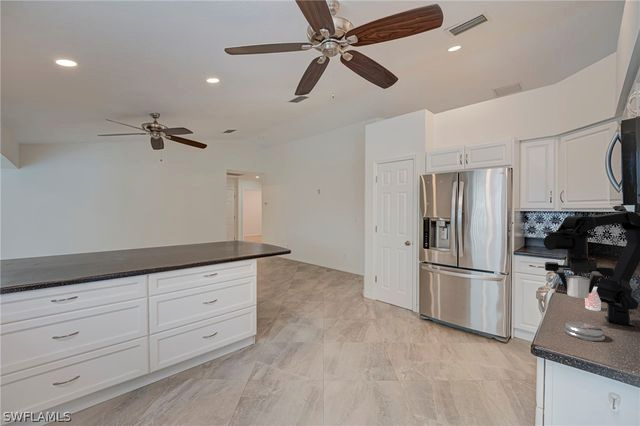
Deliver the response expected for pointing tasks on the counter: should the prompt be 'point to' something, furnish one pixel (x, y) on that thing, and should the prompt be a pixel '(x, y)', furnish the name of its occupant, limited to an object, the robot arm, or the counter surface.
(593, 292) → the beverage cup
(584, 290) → the white cup
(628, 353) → the counter surface
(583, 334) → the duct stub
